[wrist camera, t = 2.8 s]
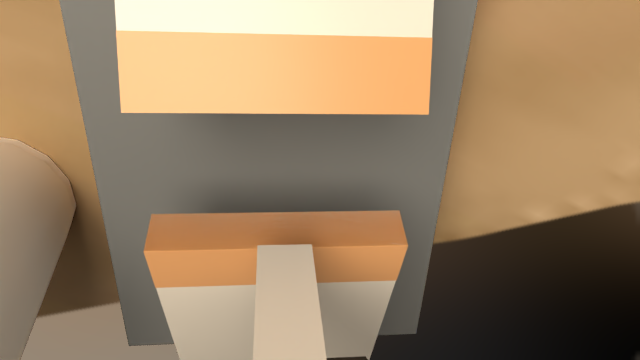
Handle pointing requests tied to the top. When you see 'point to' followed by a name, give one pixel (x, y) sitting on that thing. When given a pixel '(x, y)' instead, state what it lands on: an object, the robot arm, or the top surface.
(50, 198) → the foam cup
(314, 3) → the panel
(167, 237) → the block
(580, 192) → the top surface
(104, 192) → the switch unit
